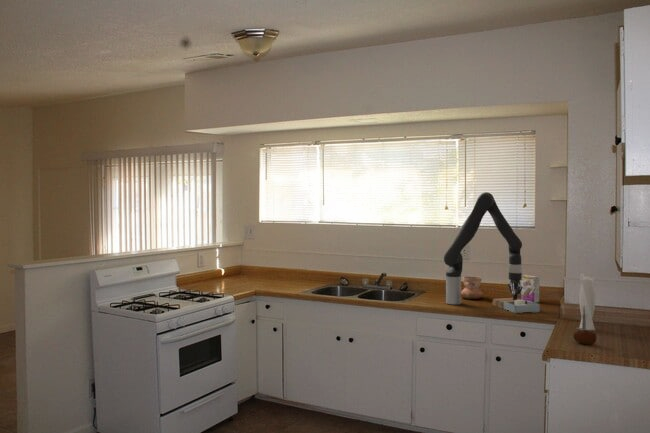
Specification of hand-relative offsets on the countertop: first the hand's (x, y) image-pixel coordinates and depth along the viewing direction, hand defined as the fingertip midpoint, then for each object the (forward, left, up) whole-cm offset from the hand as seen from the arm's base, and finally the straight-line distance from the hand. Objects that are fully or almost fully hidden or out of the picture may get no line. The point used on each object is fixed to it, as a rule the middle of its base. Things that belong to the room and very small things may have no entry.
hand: (515, 300), depth 337 cm
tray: (+7, 0, -5) cm, 9 cm away
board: (-6, 0, -5) cm, 8 cm away
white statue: (+57, +6, -5) cm, 58 cm away
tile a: (+3, 0, -2) cm, 3 cm away
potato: (+83, -14, -5) cm, 85 cm away
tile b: (+9, 0, -1) cm, 9 cm away
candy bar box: (-19, +21, -5) cm, 28 cm away
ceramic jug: (-39, -9, -5) cm, 40 cm away
